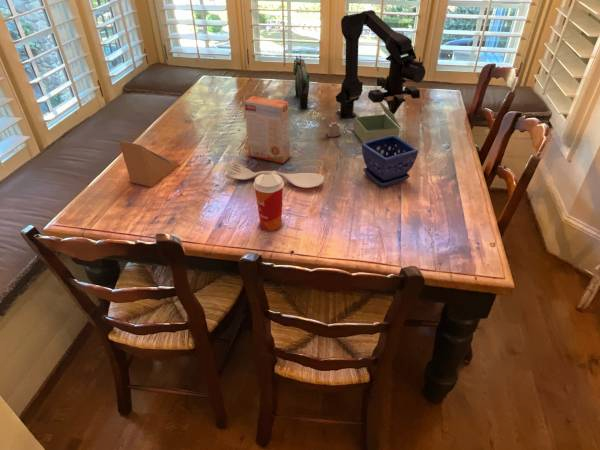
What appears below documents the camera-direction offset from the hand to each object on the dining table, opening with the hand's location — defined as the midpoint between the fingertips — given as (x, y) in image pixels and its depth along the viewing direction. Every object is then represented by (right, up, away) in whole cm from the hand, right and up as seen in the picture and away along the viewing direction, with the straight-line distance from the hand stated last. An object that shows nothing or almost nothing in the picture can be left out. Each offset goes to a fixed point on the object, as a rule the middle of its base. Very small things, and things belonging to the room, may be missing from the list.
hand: (391, 115), depth 166 cm
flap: (-1, +1, -1) cm, 2 cm away
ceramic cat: (-34, +14, +33) cm, 49 cm away
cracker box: (-46, -17, -9) cm, 50 cm away
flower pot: (-6, -26, -21) cm, 34 cm away
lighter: (-23, -7, +5) cm, 25 cm away
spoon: (-43, -27, -22) cm, 56 cm away
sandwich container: (-85, -24, -18) cm, 90 cm away
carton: (-6, -7, +4) cm, 10 cm away
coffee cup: (-43, -42, -41) cm, 73 cm away
